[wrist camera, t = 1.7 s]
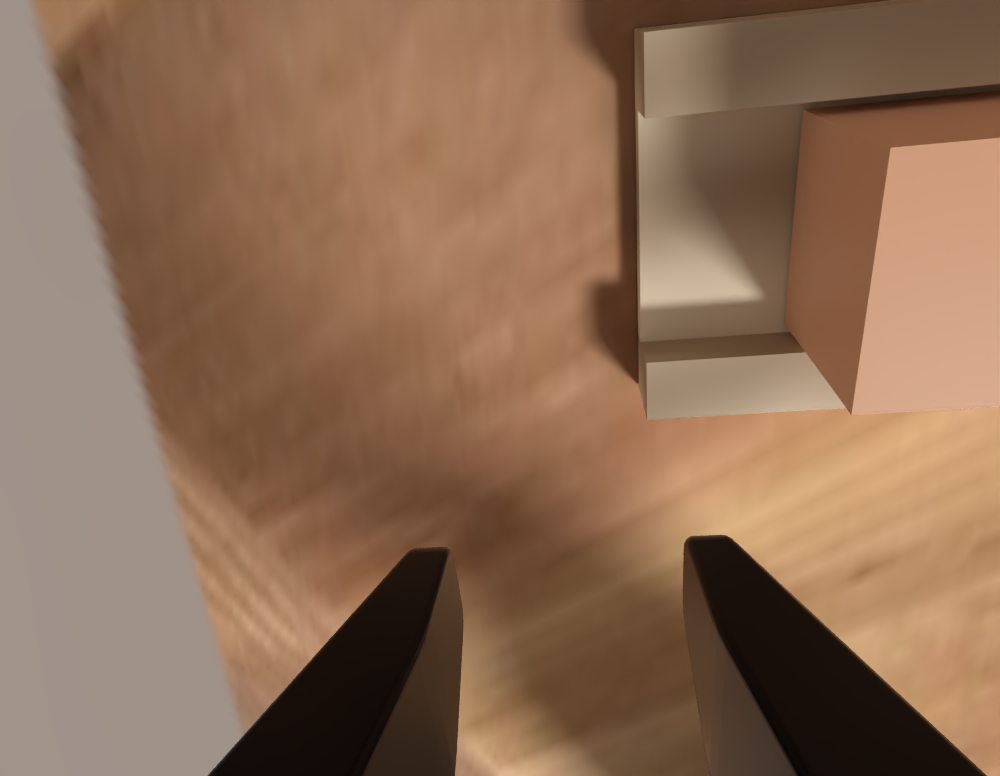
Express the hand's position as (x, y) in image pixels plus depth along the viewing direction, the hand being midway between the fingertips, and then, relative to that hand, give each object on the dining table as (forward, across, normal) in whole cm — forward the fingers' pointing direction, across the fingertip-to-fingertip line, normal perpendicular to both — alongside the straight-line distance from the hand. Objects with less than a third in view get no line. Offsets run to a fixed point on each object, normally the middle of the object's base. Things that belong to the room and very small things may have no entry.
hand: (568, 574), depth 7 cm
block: (+11, -8, 0) cm, 14 cm away
